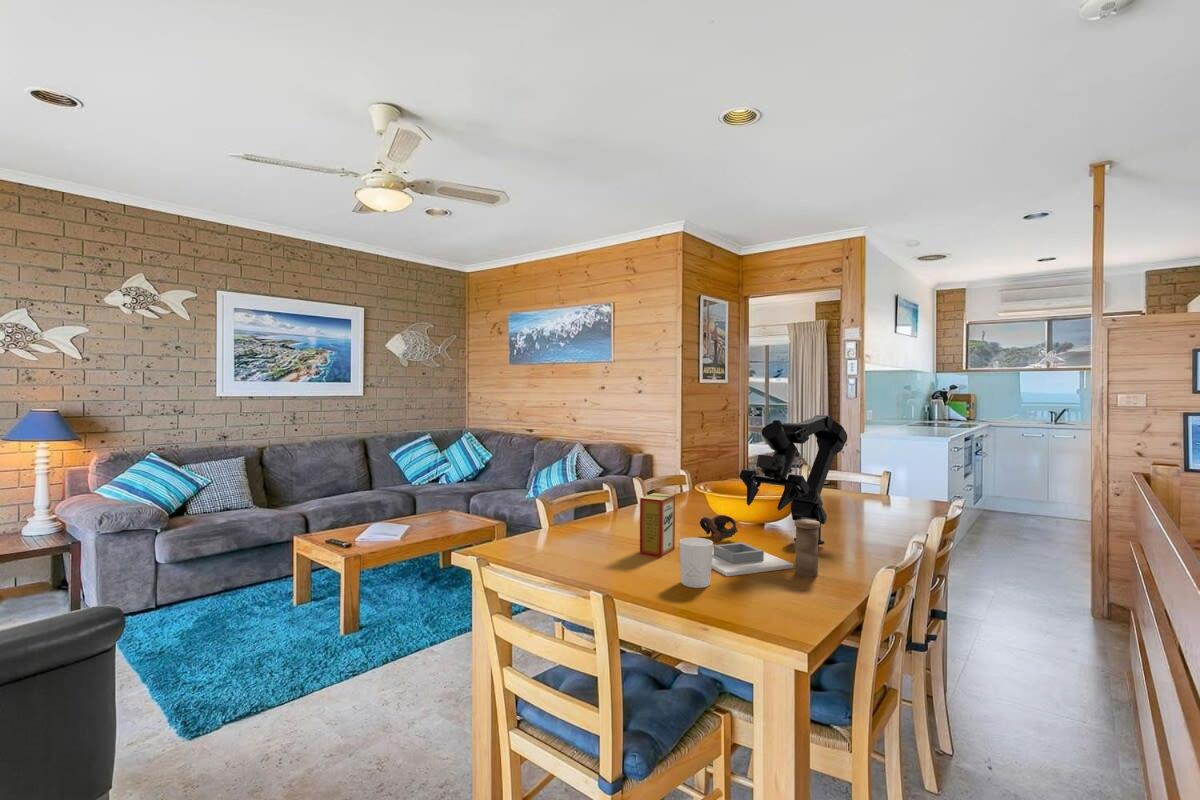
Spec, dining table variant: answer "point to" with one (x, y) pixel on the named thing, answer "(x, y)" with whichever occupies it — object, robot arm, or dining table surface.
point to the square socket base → (744, 560)
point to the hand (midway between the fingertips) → (762, 507)
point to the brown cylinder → (807, 547)
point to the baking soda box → (657, 524)
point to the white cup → (695, 561)
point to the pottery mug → (718, 527)
